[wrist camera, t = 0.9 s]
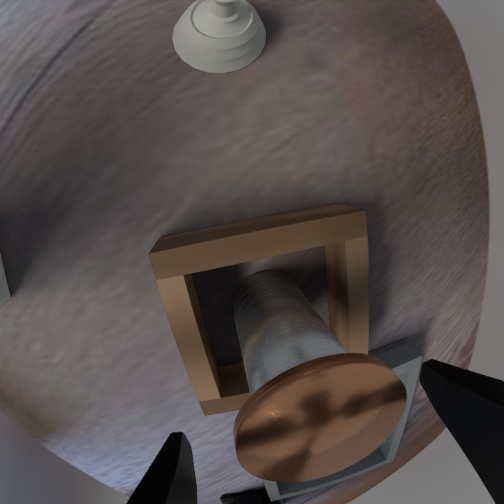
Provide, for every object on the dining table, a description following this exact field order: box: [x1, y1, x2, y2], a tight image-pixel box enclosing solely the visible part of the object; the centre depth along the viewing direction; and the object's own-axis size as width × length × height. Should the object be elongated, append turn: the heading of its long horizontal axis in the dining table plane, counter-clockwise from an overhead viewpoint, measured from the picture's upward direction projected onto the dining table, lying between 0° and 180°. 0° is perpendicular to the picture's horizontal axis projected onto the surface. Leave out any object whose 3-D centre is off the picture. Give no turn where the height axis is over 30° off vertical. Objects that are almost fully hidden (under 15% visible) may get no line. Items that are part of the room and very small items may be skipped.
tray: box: [263, 339, 422, 501], centre depth 20 cm, size 15×13×2 cm
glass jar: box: [232, 271, 407, 482], centre depth 12 cm, size 6×6×10 cm
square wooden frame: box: [149, 203, 369, 415], centre depth 15 cm, size 10×10×3 cm
